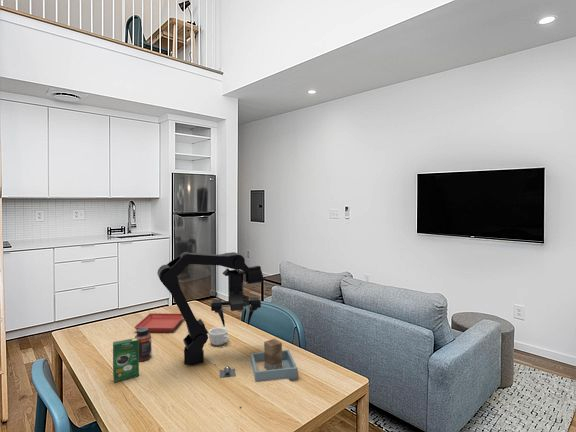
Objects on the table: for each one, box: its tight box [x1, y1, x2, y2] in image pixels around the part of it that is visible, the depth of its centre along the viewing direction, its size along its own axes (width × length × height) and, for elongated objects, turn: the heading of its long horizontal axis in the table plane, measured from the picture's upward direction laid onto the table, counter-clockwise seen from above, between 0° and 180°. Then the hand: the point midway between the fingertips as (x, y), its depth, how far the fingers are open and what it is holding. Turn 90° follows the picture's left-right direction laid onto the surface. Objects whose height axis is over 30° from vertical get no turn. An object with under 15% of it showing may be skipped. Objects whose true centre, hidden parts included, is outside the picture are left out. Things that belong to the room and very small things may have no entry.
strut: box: [263, 338, 283, 370], centre depth 127 cm, size 4×4×10 cm
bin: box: [250, 349, 299, 382], centre depth 128 cm, size 14×14×4 cm
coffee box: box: [112, 337, 140, 383], centre depth 123 cm, size 8×3×13 cm, turn 123°
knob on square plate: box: [219, 365, 237, 379], centre depth 124 cm, size 5×5×3 cm
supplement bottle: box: [134, 328, 153, 362], centre depth 137 cm, size 6×6×11 cm
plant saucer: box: [134, 312, 184, 333], centre depth 170 cm, size 18×18×3 cm
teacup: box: [208, 326, 230, 346], centre depth 150 cm, size 10×8×5 cm
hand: (236, 325), depth 139 cm, fingers open, 9 cm apart
